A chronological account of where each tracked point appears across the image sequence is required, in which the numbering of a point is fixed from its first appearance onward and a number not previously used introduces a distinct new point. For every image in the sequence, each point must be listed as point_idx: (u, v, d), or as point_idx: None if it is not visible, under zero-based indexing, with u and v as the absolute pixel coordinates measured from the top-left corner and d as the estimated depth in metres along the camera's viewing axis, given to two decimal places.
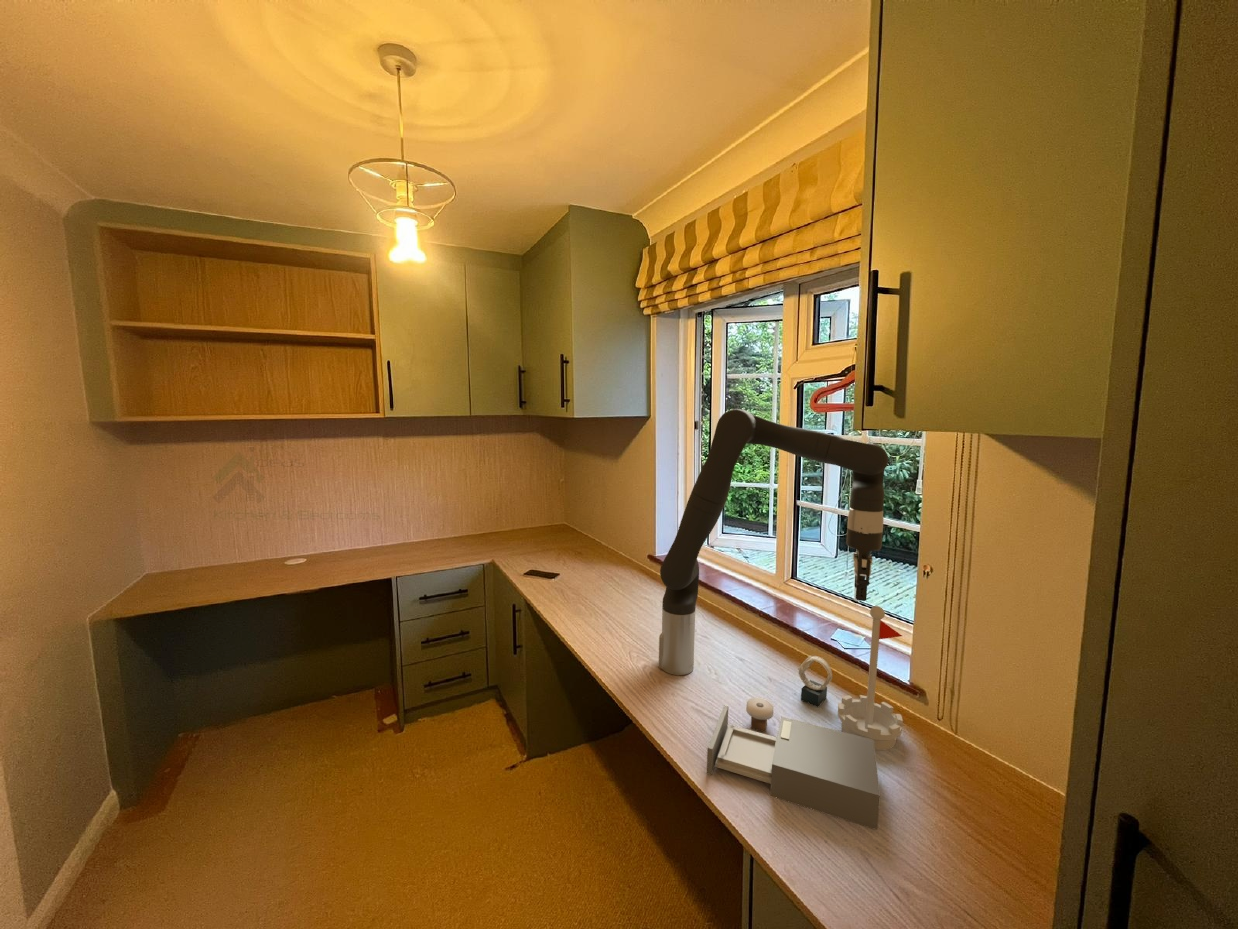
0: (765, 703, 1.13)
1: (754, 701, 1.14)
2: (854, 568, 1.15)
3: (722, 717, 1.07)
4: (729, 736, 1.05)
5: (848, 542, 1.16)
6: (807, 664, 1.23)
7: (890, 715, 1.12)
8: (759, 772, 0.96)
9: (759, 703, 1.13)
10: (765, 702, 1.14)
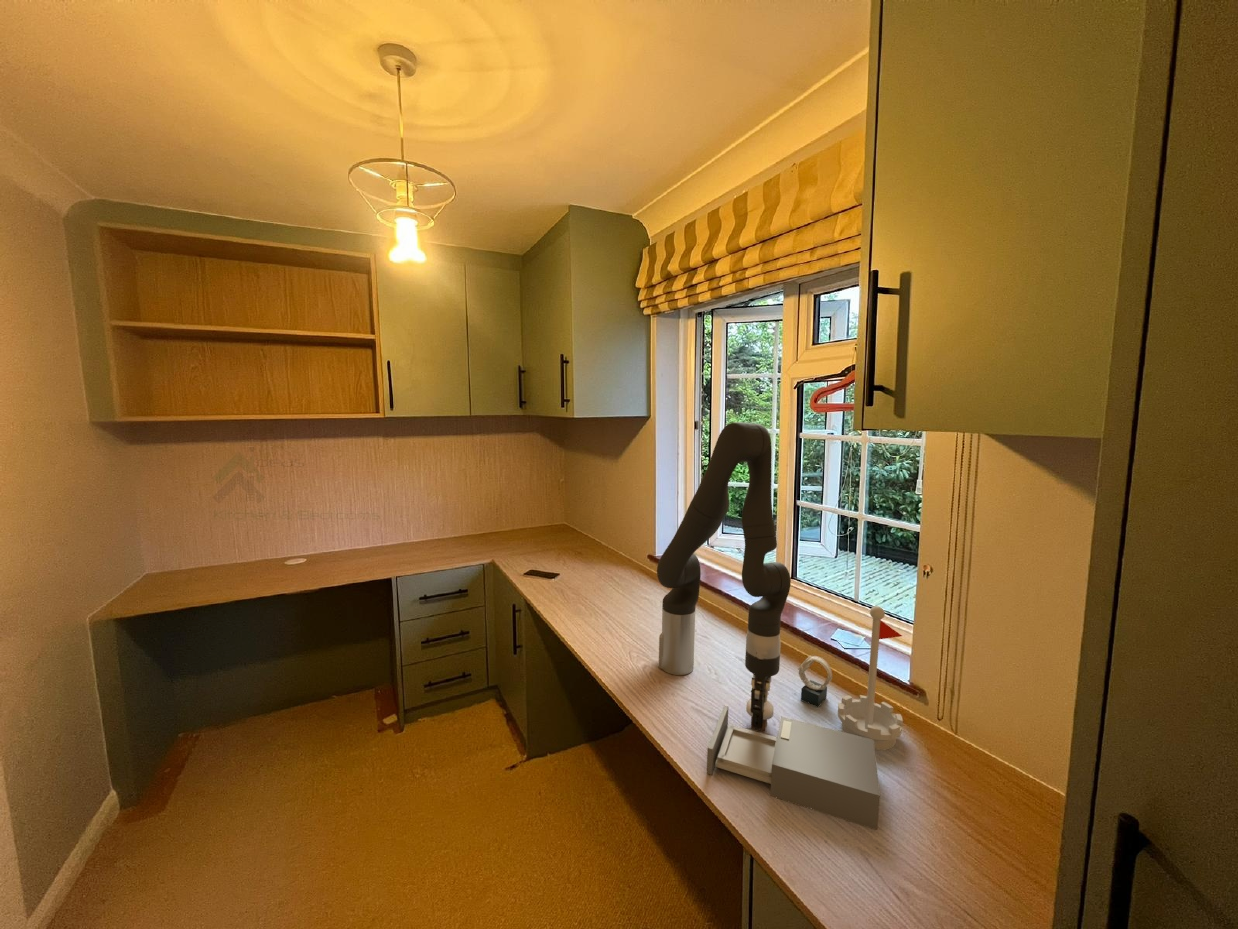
0: (765, 703, 1.13)
1: None
2: None
3: (722, 717, 1.07)
4: (729, 736, 1.05)
5: (746, 664, 1.12)
6: (807, 664, 1.23)
7: (890, 715, 1.12)
8: (759, 772, 0.96)
9: None
10: None
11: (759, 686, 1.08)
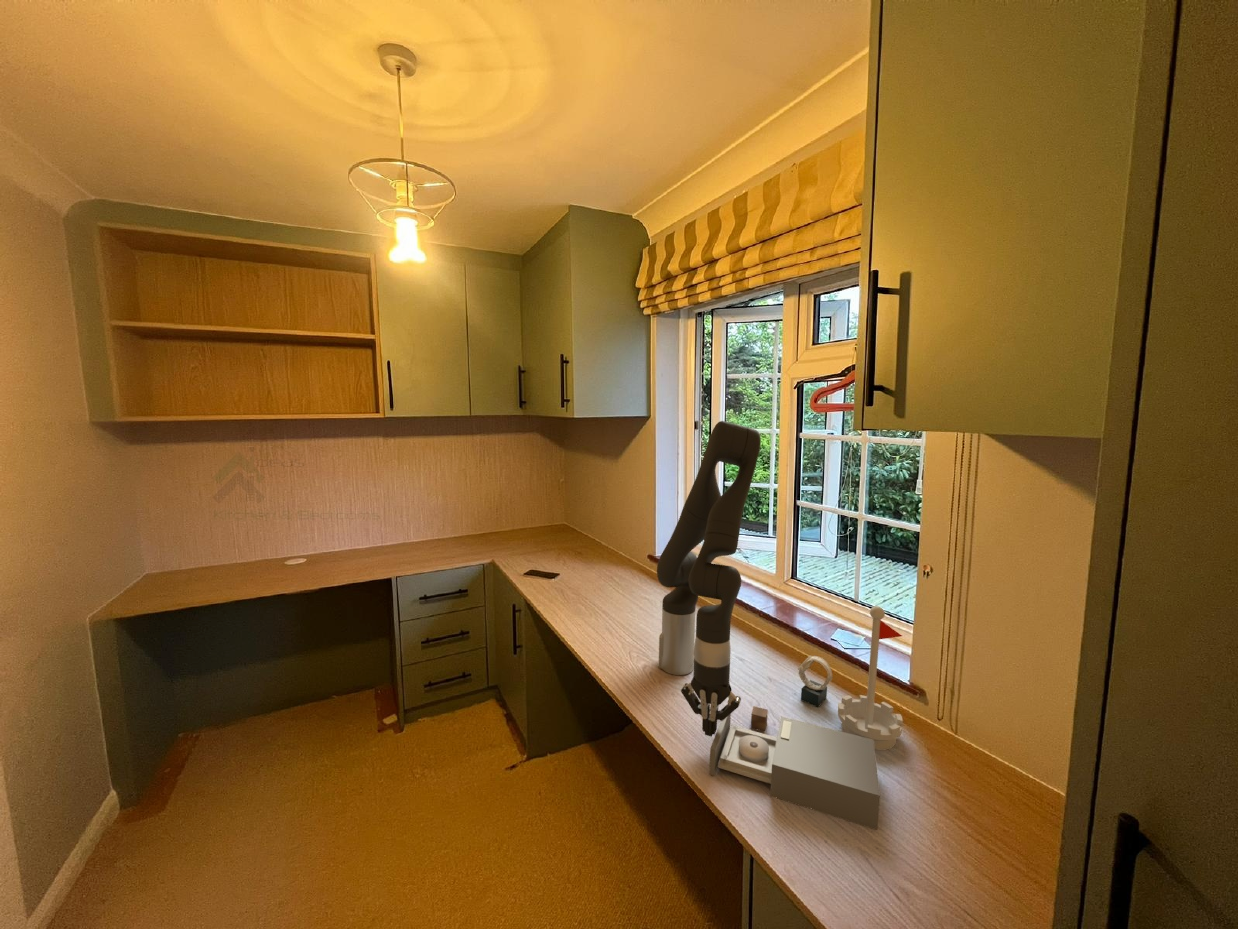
0: (760, 743, 1.02)
1: (748, 740, 1.03)
2: None
3: None
4: (732, 737, 1.05)
5: None
6: (807, 664, 1.23)
7: (890, 715, 1.12)
8: (762, 773, 0.95)
9: (753, 742, 1.02)
10: (759, 740, 1.03)
11: (689, 684, 1.06)
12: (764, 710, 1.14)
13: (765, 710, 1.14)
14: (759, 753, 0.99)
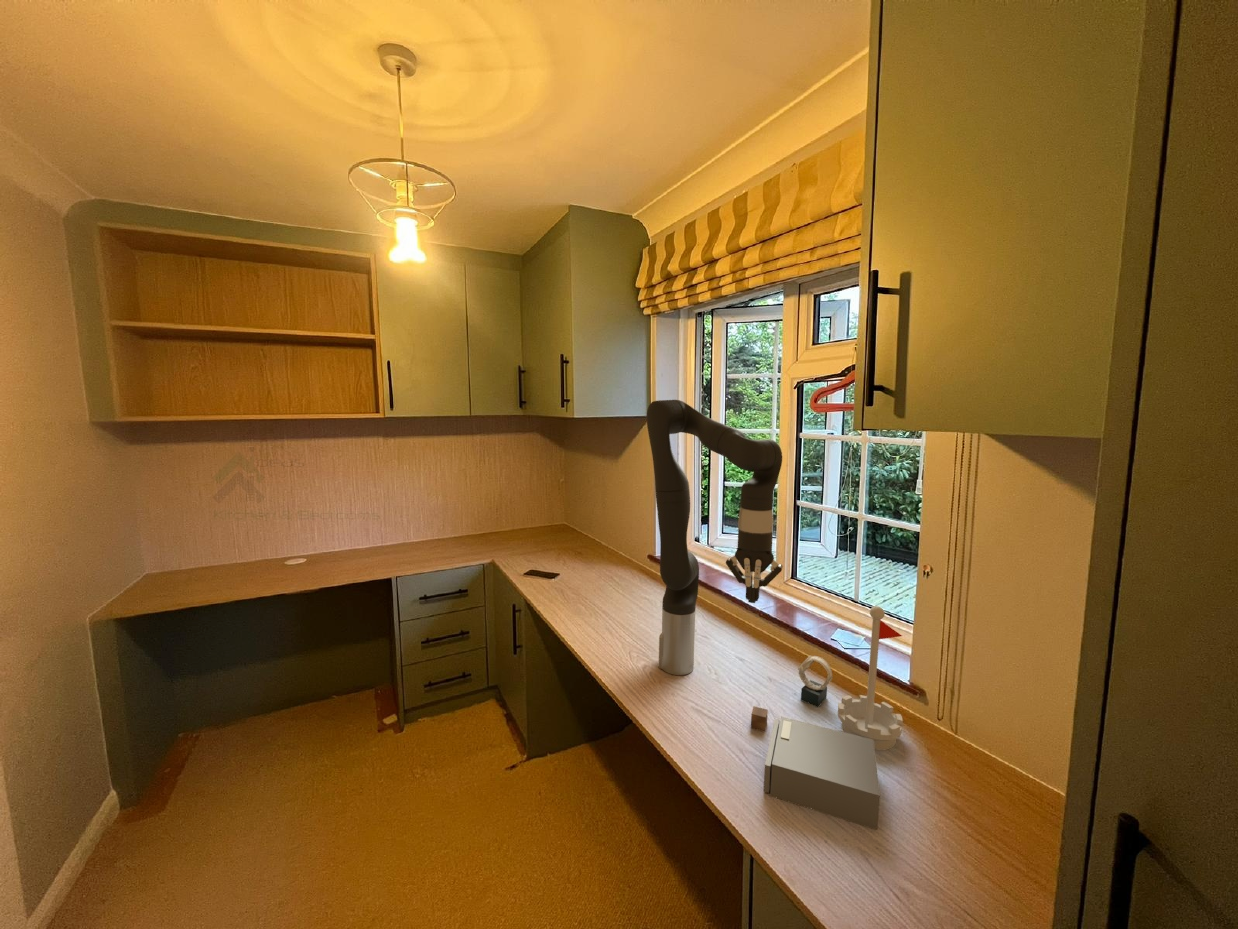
0: None
1: None
2: None
3: (774, 731, 1.03)
4: None
5: None
6: (807, 664, 1.23)
7: (890, 715, 1.12)
8: None
9: None
10: None
11: (733, 556, 1.13)
12: (764, 710, 1.14)
13: (765, 710, 1.14)
14: None
